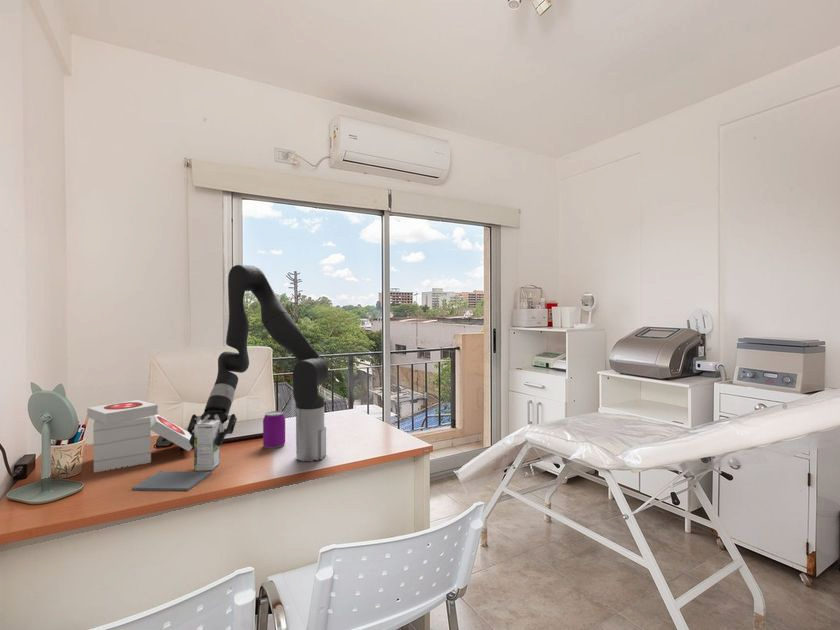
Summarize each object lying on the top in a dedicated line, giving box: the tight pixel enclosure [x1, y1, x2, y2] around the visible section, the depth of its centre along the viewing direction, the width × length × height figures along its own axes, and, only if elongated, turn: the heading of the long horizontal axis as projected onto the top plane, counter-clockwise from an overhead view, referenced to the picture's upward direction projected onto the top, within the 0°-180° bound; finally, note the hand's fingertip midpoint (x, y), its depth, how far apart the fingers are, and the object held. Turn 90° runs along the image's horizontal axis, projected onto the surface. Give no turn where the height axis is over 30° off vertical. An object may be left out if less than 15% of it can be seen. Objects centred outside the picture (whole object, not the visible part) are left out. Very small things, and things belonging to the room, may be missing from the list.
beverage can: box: [262, 410, 286, 449], centre depth 155 cm, size 8×8×12 cm
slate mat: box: [131, 470, 213, 491], centre depth 122 cm, size 16×12×1 cm
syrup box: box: [193, 420, 221, 472], centre depth 133 cm, size 6×6×14 cm
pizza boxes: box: [86, 399, 193, 473], centre depth 143 cm, size 19×30×18 cm, turn 125°
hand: (205, 445), depth 132 cm, fingers open, 7 cm apart
